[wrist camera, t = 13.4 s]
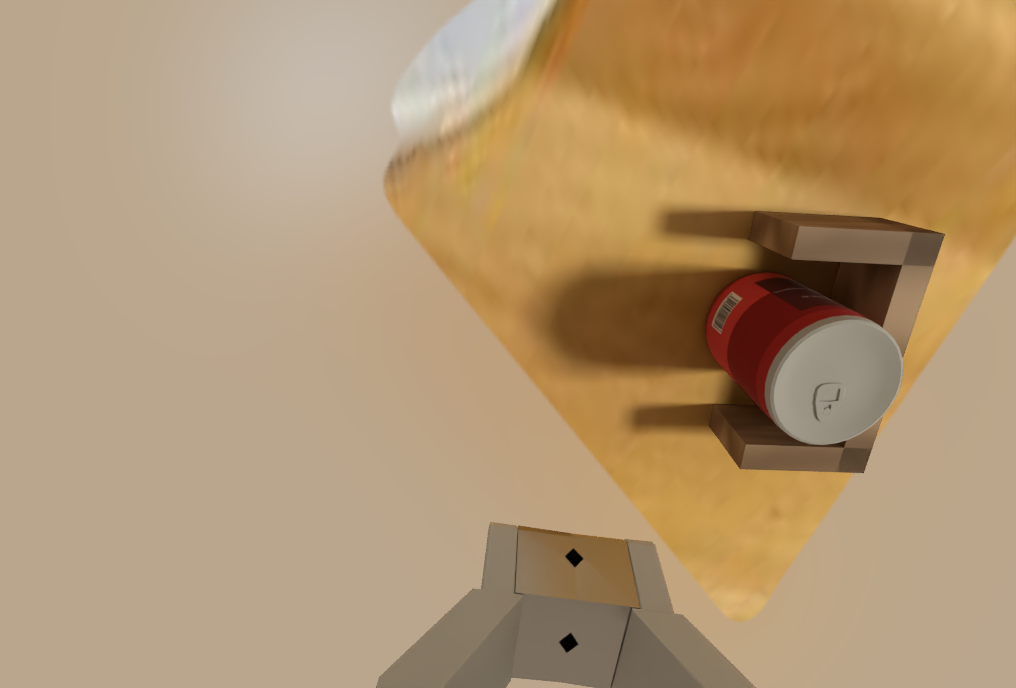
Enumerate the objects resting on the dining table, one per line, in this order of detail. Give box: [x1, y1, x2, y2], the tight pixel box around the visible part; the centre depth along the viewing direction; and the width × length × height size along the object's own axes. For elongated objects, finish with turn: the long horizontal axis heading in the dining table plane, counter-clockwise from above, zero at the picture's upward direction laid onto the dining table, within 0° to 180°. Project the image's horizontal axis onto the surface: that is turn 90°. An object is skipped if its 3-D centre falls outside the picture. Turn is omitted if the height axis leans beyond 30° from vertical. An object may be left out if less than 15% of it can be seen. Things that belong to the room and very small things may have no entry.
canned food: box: [706, 272, 903, 445], centre depth 37 cm, size 8×8×11 cm
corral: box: [709, 211, 945, 473], centre depth 40 cm, size 17×9×6 cm, turn 177°
